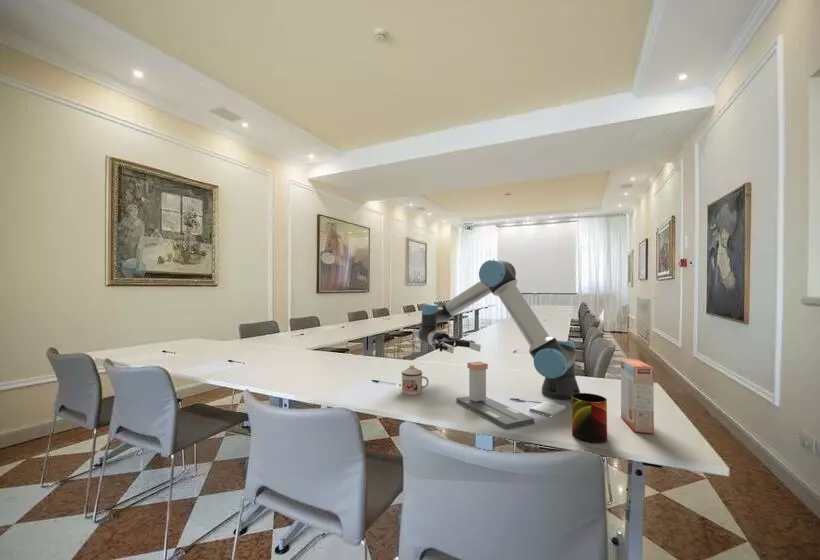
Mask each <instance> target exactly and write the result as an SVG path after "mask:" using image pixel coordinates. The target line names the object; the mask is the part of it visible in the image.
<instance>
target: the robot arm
mask: <svg viewBox="0 0 820 560" xmlns="http://www.w3.org/2000/svg"><path fill="white" fill-rule="evenodd" d="M516 276H517V272H516V268H515V267H514V265H513V264H512V263H510V262H509V261H507V260H501V259H497V258H496V259H495V258H493V259H488V260H486V261H484V262H483V263H482V264H481V266H480V268H479V270H478V277H479V278H478V279H479V280H480V281H477V283H475V284H473V285H472V286H470V287H469V288H467V289H465V290H464V291H463V292H461V293H460V294H458V295H457V296H456V295H455V296H454V297H453V298H452V299H450V300H449V301H447V302H446V303H444V304H442V305H441V306H439V305H438V304H436V303H435V304H434V303H423V305H422V311H421V327H420V328H419V329H418V330H417V335H416V336H417V339H418V340H419V342H422V343H423V344H426V345H429V346H432V347H434V350H436V351H437V350H439V352H443V351H445V352H447V353H450V354H454V348H457V347H461V348H469V350H470V349H471V350H473V351H476V352H481V347H482V346H481V344H478V343H476V341H473V340H472V339H471V340H467V339H461V338H458V337H457V338H452V337H450V336H449V334H448V333H447V332H443V331H439V330H437V328H438V323H442V322H443V323H444V322H448V321H451V320H452V318H453V317H454V316H456V315H457V314H458V313H460V312H462V311H464V310H466V309H467V308H468V307H470V306H472V305H474V304H475V303H477V302H479V301H480V300H482V299H483V298H485V297H486V296H488V295H490V294H492V295H493V296H496V297H498V298H499V299H500V301H501V303H502V304H503V306H504V308H505V309H506V311H507V312H508V313H509V315H510V316H511V318H512V319H513V321H514V323H515V324H516V326H517V328H518V330H519V331H520V333H521V335H523V338H524V339H525V341H526V342H527V343H528V345H529V349H528V352H529V354H530V356H531V357H532V359H533V366H534V369H535V371H536V372H537V373H539V375H541V376H542V377H544V379H543V383H542V385H541V394H542V395H543V396H545V397H548V398H551V399H555V400H556V399H557V400H563V401H564V400H565V401H567V400H569V401H572V394H575V393H581V390H580V387H579V384H578V381H577V378H576V350H577V349H576V344H575V342H573V341H569V340H568V341H567V340H557V338H556V337H554V336H551V335H550V334H549V333H548V332H547V330H546V328H544V326H543V324H542V323H541V322H540V320H539V318H538V317H537V315H536V314H535V312H534V311H533V309H532V308H531V306H530V304H529V303H528V301H527V300H526V299H525V296H523V294H522V292H521V291H520V290H519V288H518V287H517V283H518V280H517V278H516Z"/></svg>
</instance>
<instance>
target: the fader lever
mask: <svg viewBox="0 0 820 560" xmlns="http://www.w3.org/2000/svg"><path fill="white" fill-rule="evenodd" d="M467 368H468V372H469V373H468V375H469V377H468V380H469V383H468V385H469V387H468V388H469V390H468V393H469V395H468V396H469V399H471V400H473V401H475V402H476V401H482V400H486V397H487V370H488V369H489V367H488V363H487V362H483V361H473V362H472V361H469V362H467Z"/></svg>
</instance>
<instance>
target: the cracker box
mask: <svg viewBox="0 0 820 560" xmlns="http://www.w3.org/2000/svg"><path fill="white" fill-rule="evenodd" d="M654 370H655V369H654V367H653V366H651V365H649V364H648V363H645V361H641V360H640V359H637V358H620V417H621V419H622V420H623V421H624V422H625V424H626V425H627V426H628V427H630V429H631V430H632V431H633V432H634V433H640V434H641V433H642V434H651V435H653V434H655V425H654V423H655V421H654V419H655V417H654V414H655V412H654V407H655V405H654V404H655V403H654V402H655V399H654V395H655V394H654V382H655V381H654V380H655V379H654V376H655V375H654Z"/></svg>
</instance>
